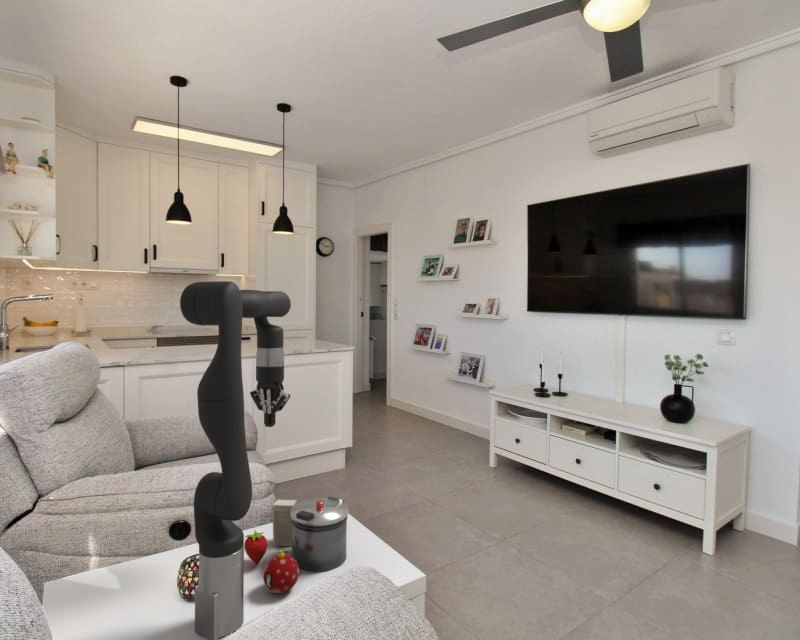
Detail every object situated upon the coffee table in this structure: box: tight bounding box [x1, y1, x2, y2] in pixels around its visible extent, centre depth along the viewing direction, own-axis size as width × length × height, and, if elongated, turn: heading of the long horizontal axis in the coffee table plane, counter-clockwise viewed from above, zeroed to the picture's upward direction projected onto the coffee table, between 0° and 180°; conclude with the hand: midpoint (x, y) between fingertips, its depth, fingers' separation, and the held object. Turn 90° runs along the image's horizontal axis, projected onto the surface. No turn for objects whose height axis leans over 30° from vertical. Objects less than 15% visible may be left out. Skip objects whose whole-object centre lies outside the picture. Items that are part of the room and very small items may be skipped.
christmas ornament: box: [262, 549, 300, 594], centre depth 118 cm, size 9×9×10 cm
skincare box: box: [272, 499, 298, 547], centre depth 142 cm, size 6×4×12 cm
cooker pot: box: [291, 516, 348, 573], centre depth 134 cm, size 15×15×12 cm
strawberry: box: [244, 529, 268, 566], centre depth 130 cm, size 6×8×10 cm
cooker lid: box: [290, 496, 350, 526], centre depth 134 cm, size 17×16×3 cm
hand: (269, 426), depth 132 cm, fingers closed
